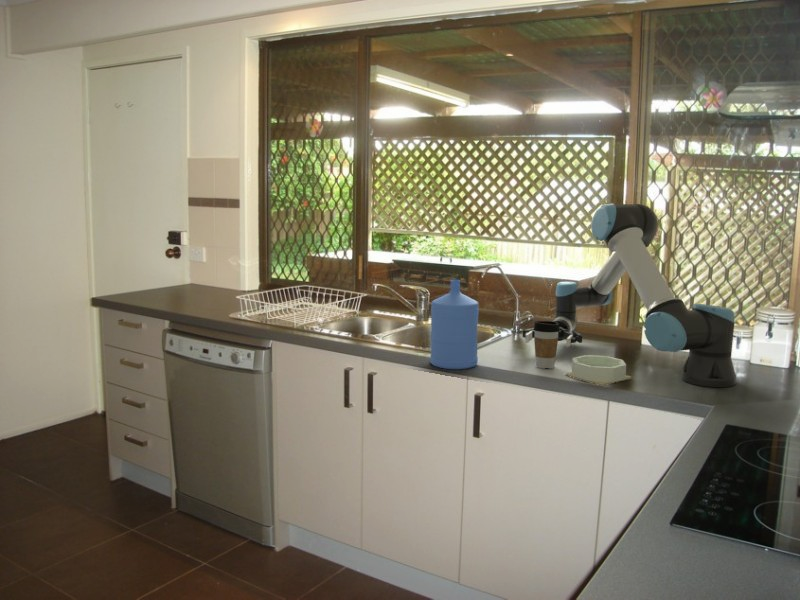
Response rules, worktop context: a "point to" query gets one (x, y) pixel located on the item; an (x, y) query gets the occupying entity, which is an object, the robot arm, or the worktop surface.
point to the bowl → (598, 369)
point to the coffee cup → (546, 343)
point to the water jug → (454, 330)
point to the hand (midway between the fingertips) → (546, 340)
